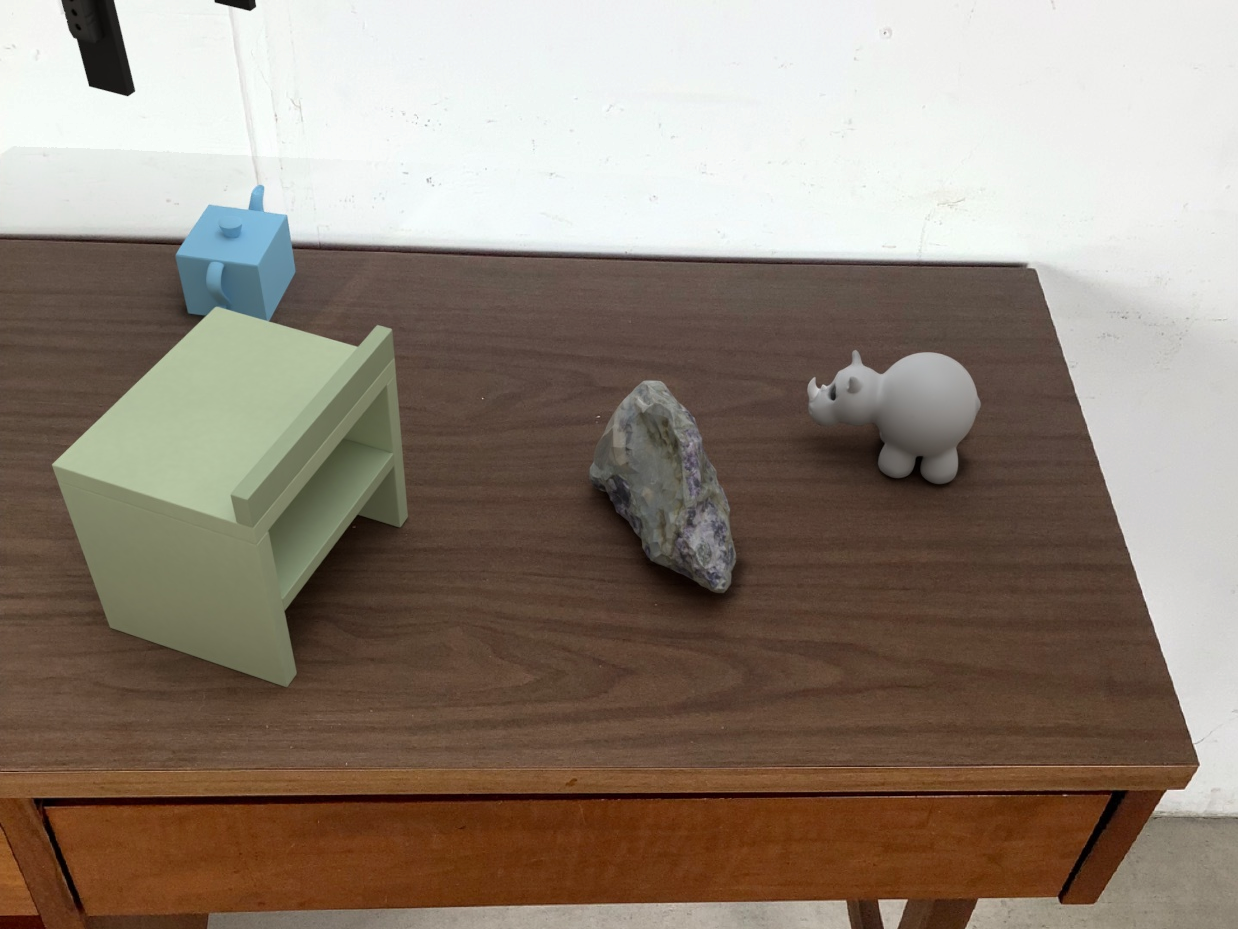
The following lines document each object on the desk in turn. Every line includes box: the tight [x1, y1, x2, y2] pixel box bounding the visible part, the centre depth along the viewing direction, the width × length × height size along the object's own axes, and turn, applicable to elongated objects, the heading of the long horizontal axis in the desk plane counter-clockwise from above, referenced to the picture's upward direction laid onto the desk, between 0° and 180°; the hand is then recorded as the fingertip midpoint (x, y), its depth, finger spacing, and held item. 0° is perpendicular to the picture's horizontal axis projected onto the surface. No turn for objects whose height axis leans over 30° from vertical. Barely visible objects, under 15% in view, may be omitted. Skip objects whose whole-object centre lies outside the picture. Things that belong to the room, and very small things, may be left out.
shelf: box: [51, 307, 409, 688], centre depth 76 cm, size 12×16×15 cm
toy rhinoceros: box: [806, 349, 982, 485], centre depth 90 cm, size 7×12×8 cm, turn 80°
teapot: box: [174, 184, 296, 322], centre depth 97 cm, size 12×6×8 cm, turn 173°
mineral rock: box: [589, 380, 737, 594], centre depth 82 cm, size 13×11×10 cm
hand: (177, 45), depth 81 cm, fingers open, 13 cm apart
